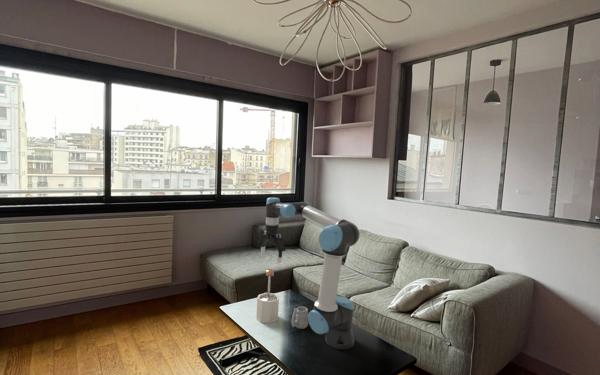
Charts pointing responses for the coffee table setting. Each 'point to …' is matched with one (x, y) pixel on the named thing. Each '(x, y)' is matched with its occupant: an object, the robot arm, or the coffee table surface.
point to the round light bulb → (269, 298)
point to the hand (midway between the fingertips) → (270, 260)
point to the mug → (300, 317)
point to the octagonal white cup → (267, 309)
